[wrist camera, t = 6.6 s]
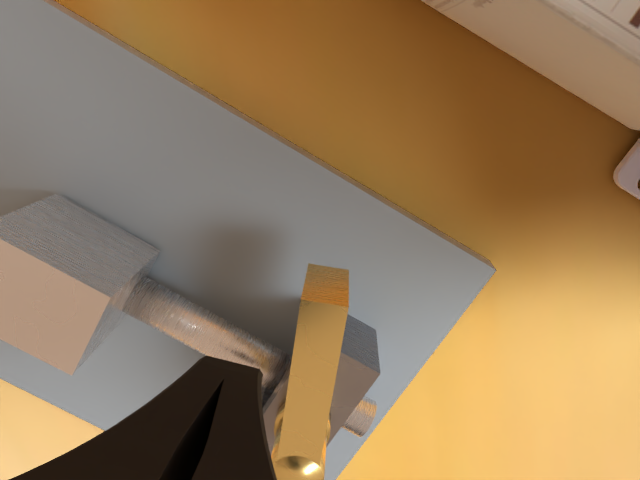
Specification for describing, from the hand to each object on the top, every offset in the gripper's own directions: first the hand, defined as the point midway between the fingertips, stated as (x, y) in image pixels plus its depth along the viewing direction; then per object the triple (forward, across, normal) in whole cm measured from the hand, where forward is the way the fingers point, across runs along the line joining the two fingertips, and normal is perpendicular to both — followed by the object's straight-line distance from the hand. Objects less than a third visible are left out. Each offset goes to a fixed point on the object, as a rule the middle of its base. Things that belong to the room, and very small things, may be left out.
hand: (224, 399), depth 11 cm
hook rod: (+7, +2, +2) cm, 8 cm away
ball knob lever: (+5, -2, +1) cm, 5 cm away
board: (+8, +4, +2) cm, 9 cm away
